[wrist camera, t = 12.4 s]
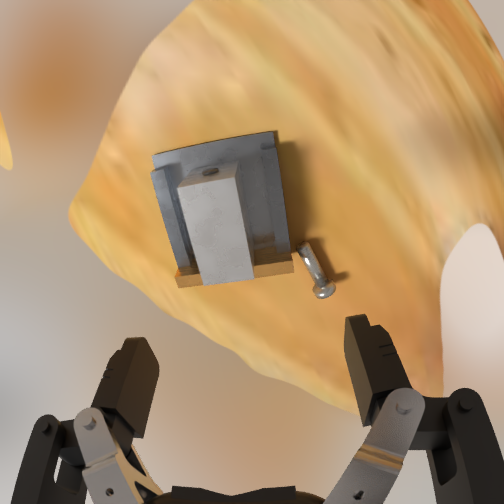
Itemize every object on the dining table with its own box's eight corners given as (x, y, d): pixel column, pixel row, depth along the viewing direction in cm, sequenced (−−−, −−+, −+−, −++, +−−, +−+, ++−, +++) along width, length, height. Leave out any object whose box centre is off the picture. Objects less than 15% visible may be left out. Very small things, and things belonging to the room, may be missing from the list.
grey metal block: (191, 167, 31) (175, 185, 25) (238, 158, 31) (234, 174, 24) (212, 251, 36) (203, 285, 30) (254, 245, 35) (254, 278, 29)
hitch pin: (290, 247, 36) (293, 259, 33) (312, 237, 35) (316, 248, 33) (313, 288, 39) (317, 302, 36) (333, 279, 38) (338, 292, 35)
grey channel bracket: (152, 155, 30) (139, 163, 27) (272, 131, 29) (275, 135, 26) (185, 269, 37) (178, 288, 34) (290, 254, 36) (294, 272, 33)
